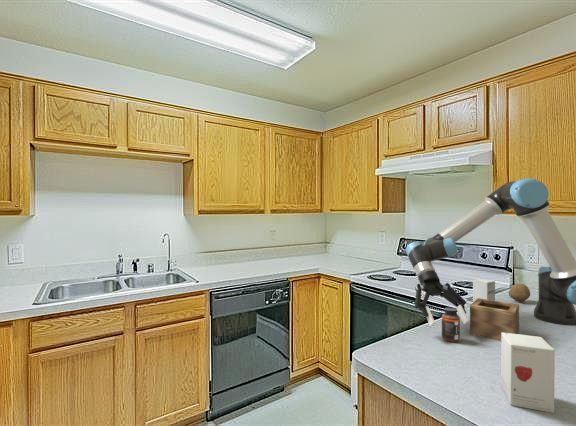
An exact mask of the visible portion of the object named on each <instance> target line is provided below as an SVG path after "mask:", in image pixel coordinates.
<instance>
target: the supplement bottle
mask: <svg viewBox="0 0 576 426" xmlns="http://www.w3.org/2000/svg"><path fill="white" fill-rule="evenodd" d="M460 320H461V318H460V316H459V314H458V312H457V310H456V308H454V307H445V308H444V313H442V314H441V338H442V339H443V340H444V341H446V342H450V343H458V342H460V340H461V339H460V338H461V327H460V326H461V324H460V323H461V321H460Z"/></svg>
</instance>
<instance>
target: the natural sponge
mask: <svg viewBox="0 0 576 426" xmlns="http://www.w3.org/2000/svg"><path fill="white" fill-rule="evenodd" d="M508 296H509V298H511V299H513V300H514V301H515V302H517V303H524V302H525V301H526V300H528V299H529V298H530V296H531V290H530V289H529V287H528V286H527V285H526V284H523V283H519V282H517V283H514V284H513V285H511V287H510V289H509V291H508Z"/></svg>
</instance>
